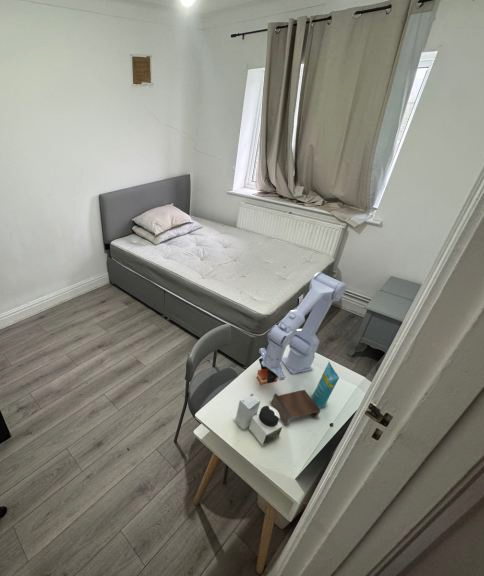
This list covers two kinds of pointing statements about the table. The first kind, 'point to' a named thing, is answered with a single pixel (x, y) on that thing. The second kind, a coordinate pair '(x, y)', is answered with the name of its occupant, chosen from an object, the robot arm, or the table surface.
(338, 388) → the table surface
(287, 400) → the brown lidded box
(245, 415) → the cosmetic box
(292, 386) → the table surface
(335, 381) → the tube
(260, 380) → the snack box
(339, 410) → the table surface
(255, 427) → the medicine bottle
